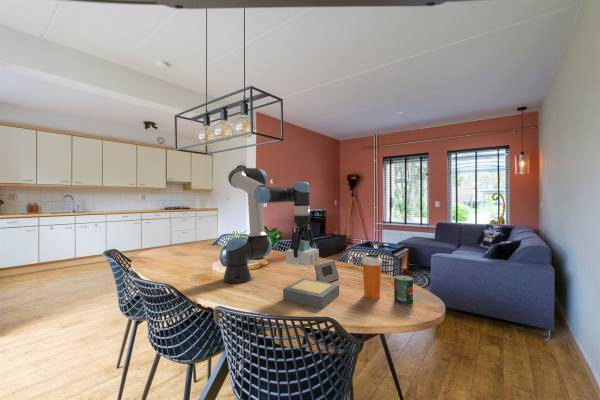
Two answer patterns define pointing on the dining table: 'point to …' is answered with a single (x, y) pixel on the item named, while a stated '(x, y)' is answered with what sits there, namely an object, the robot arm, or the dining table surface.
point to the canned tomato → (403, 290)
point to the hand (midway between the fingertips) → (302, 261)
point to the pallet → (303, 257)
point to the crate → (304, 245)
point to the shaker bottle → (372, 275)
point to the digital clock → (326, 271)
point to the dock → (311, 293)
